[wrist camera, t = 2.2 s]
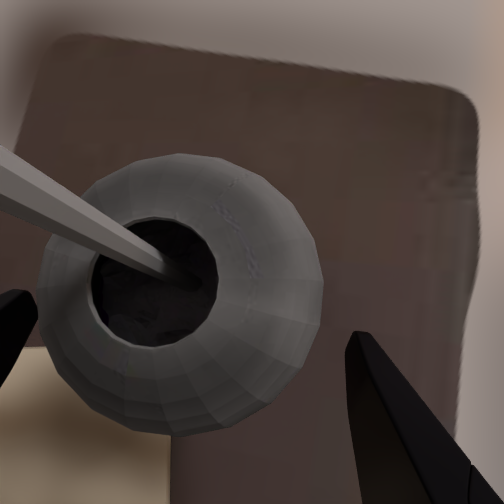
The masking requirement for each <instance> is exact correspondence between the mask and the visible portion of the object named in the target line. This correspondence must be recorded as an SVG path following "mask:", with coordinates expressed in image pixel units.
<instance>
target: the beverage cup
mask: <svg viewBox="0 0 504 504" xmlns="http://www.w3.org/2000/svg"><path fill="white" fill-rule="evenodd" d="M0 210H1V211H4V212H6V213H8V214H10V215H13V216H15V217H17V218H20V219H22V220H24V221H27V222H29V223H31V224H33V225H36V226H38V227H40V228H43V229H45V230H47V231H49V232H52V233H53V234H52V236H51V238H50V240H49V241H48V243H47V245H46V247H45V250H44V254H43V259H42V264H41V268H40V273H39V277H38V282H37V286H36V298H37V309H38V319H39V330H40V335H41V337H42V339H43V342H44V344H45V346H46V348H47V351H48V353H49V355H50V357H51V360H52V362H53V364H54V366H55V369H56V371H57V373H58V374H59V375H60V376H61V378H62V379H63V380H64V381H65V382H66V383H67V384H68V385H69V386H70V387H71V388H72V389H73V390H74V391H75V392H76V393H77V395H78V396H79V397H80V398H81V399H82V400H83V401H84V402H85V403H86V404H87V405H88V406H89V407H90V408H91V409H92V410H94V411H96V412H97V413H99V414H101V415H103V416H105V417H107V418H109V419H111V420H113V421H115V422H117V423H119V424H121V425H123V426H125V427H127V428H129V429H131V430H133V431H138V432H146V433H154V434H161V435H169V436H176V437H184V436H189V435H194V434H199V433H204V432H209V431H213V430H218V429H223V428H228V427H232V426H233V425H235V424H237V423H238V422H240V421H242V420H243V419H245V418H247V417H249V416H250V415H252V414H254V413H255V412H257V411H259V410H260V409H262V408H264V407H265V406H267V405H269V404H271V403H272V402H273V401H274V399H275V398H276V397H277V396H278V395H279V394H280V393H281V391H282V390H283V389H284V388H285V387H286V386H287V384H288V383H289V382H290V381H291V380H292V379H293V378H294V376H295V375H296V374H297V373H298V372H299V371H300V370H301V368H302V366H303V364H304V362H305V359H306V357H307V355H308V352H309V350H310V348H311V345H312V343H313V341H314V338H315V336H316V333H317V331H318V329H319V326H320V317H321V306H322V294H323V283H324V281H323V277H322V273H321V268H320V264H319V260H318V255H317V251H316V246H315V242H314V239H313V237H312V236H311V234H310V232H309V231H308V229H307V227H306V226H305V224H304V222H303V220H302V219H301V217H300V215H299V214H298V212H297V210H296V209H295V207H294V205H293V204H292V203H291V202H290V201H289V200H288V199H287V198H285V197H284V196H283V195H282V194H281V193H280V192H279V191H278V190H276V189H275V188H274V187H273V186H272V185H271V184H270V183H269V182H267V181H266V180H265V179H264V178H263V177H262V176H259V175H257V174H255V173H253V172H250V171H248V170H246V169H244V168H241V167H239V166H237V165H235V164H232V163H230V162H228V161H226V160H223V159H221V158H216V157H207V156H198V155H190V154H181V153H178V154H172V155H167V156H161V157H156V158H151V159H145V160H140V161H136V162H133V163H131V164H129V165H127V166H125V167H124V168H122V169H120V170H118V171H116V172H114V173H112V174H110V175H108V176H106V177H104V178H102V179H100V180H98V181H96V182H95V183H94V184H93V185H92V186H91V187H90V188H89V189H88V190H87V191H86V192H85V193H84V194H83V195H82V196H81V197H80V198H79V197H78V196H76V195H75V194H73V193H72V192H70V191H69V190H67V189H66V188H64V187H63V186H61V185H60V184H58V183H57V182H55V181H54V180H52V179H51V178H49V177H48V176H46V175H45V174H43V173H42V172H40V171H39V170H37V169H36V168H34V167H33V166H31V165H30V164H28V163H27V162H25V161H24V160H22V159H21V158H19V157H18V156H16V155H15V154H13V153H12V152H10V151H9V150H7V149H6V148H4V147H3V146H1V145H0Z"/></svg>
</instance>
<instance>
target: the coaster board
mask: <svg viewBox="0 0 504 504" xmlns="http://www.w3.org/2000/svg"><path fill="white" fill-rule="evenodd" d="M170 453H171V436H169V435H161V434H154V433H146V432H138V431H133V430H131V429H129V428H127V427H125V426H123V425H121V424H119V423H117V422H115V421H113V420H111V419H109V418H107V417H105V416H103V415H101V414H99V413H97V412H96V411H94V410H92V409H91V408H90V407H89V406H88V405H87V404H86V403H85V402H84V401H83V400H82V399H81V398H80V397H79V396H78V395H77V393H76V392H75V391H74V390H73V389H72V388H71V387H70V386H69V385H68V384H67V383H66V382H65V381H64V380H63V379H62V378H61V376H60V375H59V374H58V373H57V371H56V369H55V366H54V364H53V362H52V360H51V357H50V355H49V353H48V351H47V348H46V347H23V349H22V351H21V353H20V355H19V357H18V359H17V361H16V363H15V365H14V367H13V369H12V370H11V372H10V374H9V375H8V377H7V379H6V380H5V382H4V383H3V385H2V386H1V388H0V504H170Z"/></svg>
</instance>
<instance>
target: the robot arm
mask: <svg viewBox="0 0 504 504" xmlns="http://www.w3.org/2000/svg"><path fill="white" fill-rule="evenodd" d="M37 320H38V309H37V305H36V303H35V301H34V299H33V297H32V295H31V293H30V292H29V291H26V290H19V289H12V290H9V291H7V292H5V293H3V294H1V295H0V388H1V386H2V385H3V383H4V382H5V380H6V379H7V377H8V375H9V374H10V372H11V370H12V369H13V367H14V365H15V363H16V361H17V359H18V357H19V355H20V353H21V351H22V349H23V347H24V345H25V343H26V341H27V339H28V337H29V336H30V334H31V332H32V330H33V328H34V326H35V324H36V322H37ZM345 373H346V392H347V409H348V418H349V424H350V430H351V436H352V442H353V449H354V455H355V461H356V467H357V473H358V479H359V485H360V491H361V497H362V504H504V502H503V501H502V500H501V499H500V498H499V496H498V495H497V494H496V493H495V491H494V490H493V489H492V488H491V486H490V485H489V484H488V483H487V481H486V480H485V479H484V478H483V476H482V475H481V474H480V472H479V471H478V470H477V469H476V467H475V466H474V465H471V461H470V460H469V459H468V457H467V456H466V455H465V453H464V452H463V451H462V450H461V448H460V447H459V446H458V445H457V443H456V442H455V441H454V439H453V438H452V437H451V436H450V434H449V433H448V432H447V431H446V429H445V428H444V427H443V425H442V424H441V423H440V422H439V420H438V419H437V418H436V417H435V415H434V414H433V413H432V411H431V410H430V409H429V408H428V406H427V405H426V404H425V402H424V401H423V400H422V399H421V397H420V396H419V395H418V394H417V392H416V391H415V390H414V388H413V387H412V386H411V385H410V383H409V382H408V381H407V380H406V378H405V377H404V376H403V374H402V373H401V372H400V371H399V369H398V368H397V367H396V366H395V364H394V363H393V362H392V360H391V359H390V358H389V357H388V355H387V354H386V353H385V352H384V350H383V349H382V348H381V346H380V345H379V344H378V343H377V341H376V340H375V339H374V338H373V336H372V335H371V334H370V333H368V332H363V331H354V332H353V333H352V335H351V337H350V340H349V342H348V344H347V347H346V349H345Z"/></svg>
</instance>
